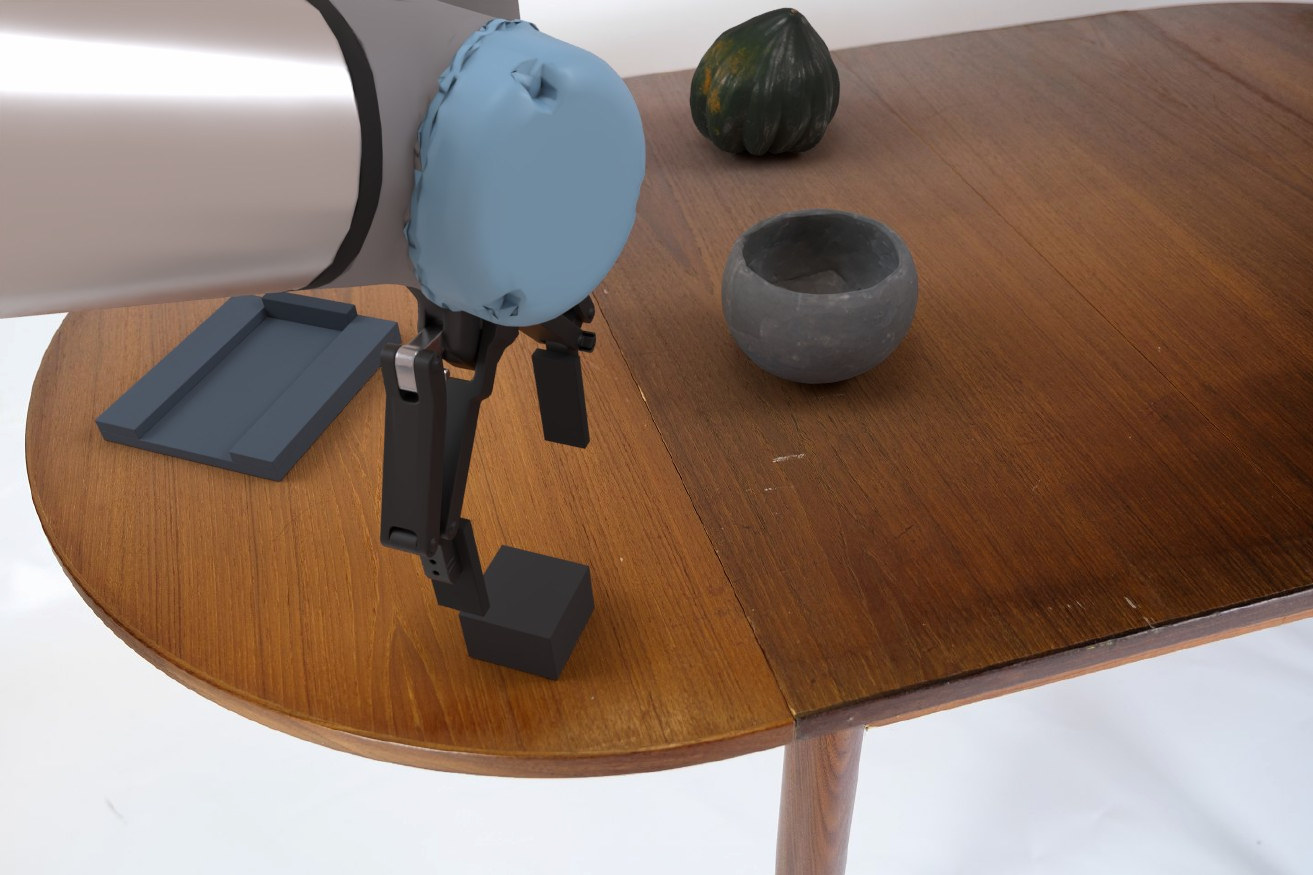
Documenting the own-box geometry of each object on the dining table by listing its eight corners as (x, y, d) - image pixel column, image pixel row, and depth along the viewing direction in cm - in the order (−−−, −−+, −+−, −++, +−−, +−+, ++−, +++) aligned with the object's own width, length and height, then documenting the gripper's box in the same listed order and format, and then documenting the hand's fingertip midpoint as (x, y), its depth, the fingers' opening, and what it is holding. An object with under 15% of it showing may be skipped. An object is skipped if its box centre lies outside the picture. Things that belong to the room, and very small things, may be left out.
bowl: (745, 429, 84) (746, 319, 78) (705, 317, 95) (703, 212, 89) (936, 402, 86) (953, 291, 79) (875, 294, 97) (885, 189, 90)
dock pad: (279, 482, 82) (268, 451, 80) (103, 439, 87) (89, 410, 85) (402, 341, 95) (395, 311, 93) (243, 310, 99) (233, 282, 97)
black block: (557, 681, 68) (550, 639, 65) (468, 656, 69) (457, 614, 67) (595, 607, 72) (589, 565, 69) (510, 586, 74) (501, 543, 71)
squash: (658, 73, 120) (702, -6, 106) (781, 49, 125) (839, -29, 111) (702, 196, 119) (752, 134, 105) (824, 168, 124) (888, 104, 109)
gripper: (386, 361, 40) (479, 710, 54) (635, 73, 58) (657, 395, 72) (213, 327, 43) (345, 671, 57) (503, 59, 60) (549, 374, 74)
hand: (519, 517), depth 64 cm, fingers open, 13 cm apart
